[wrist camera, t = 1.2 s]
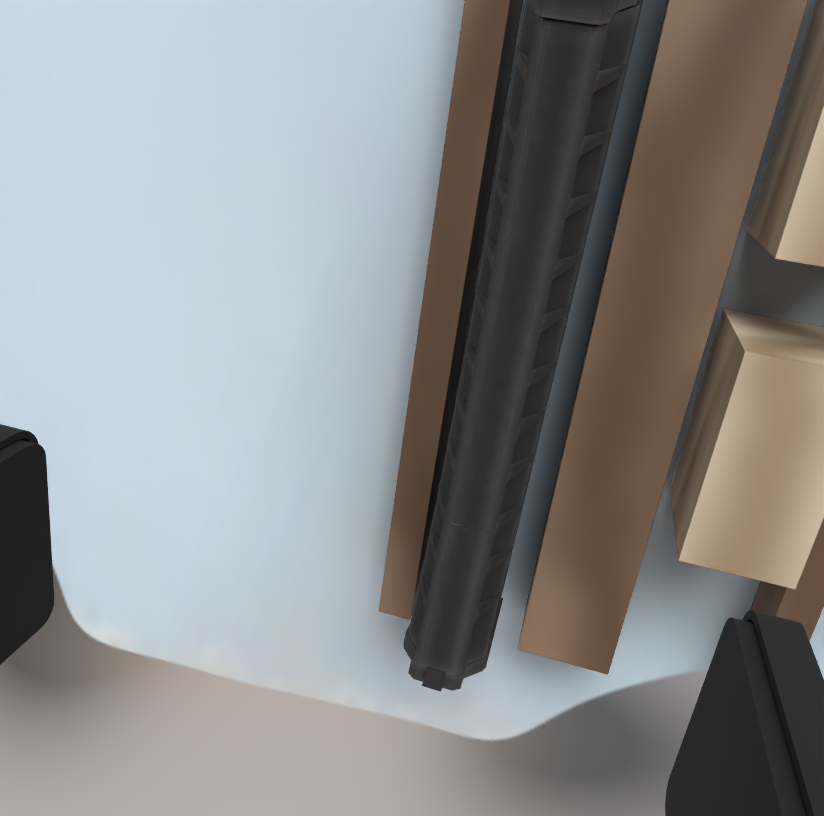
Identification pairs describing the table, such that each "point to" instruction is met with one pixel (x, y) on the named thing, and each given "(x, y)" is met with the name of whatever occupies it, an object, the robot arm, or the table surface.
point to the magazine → (518, 320)
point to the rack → (604, 312)
